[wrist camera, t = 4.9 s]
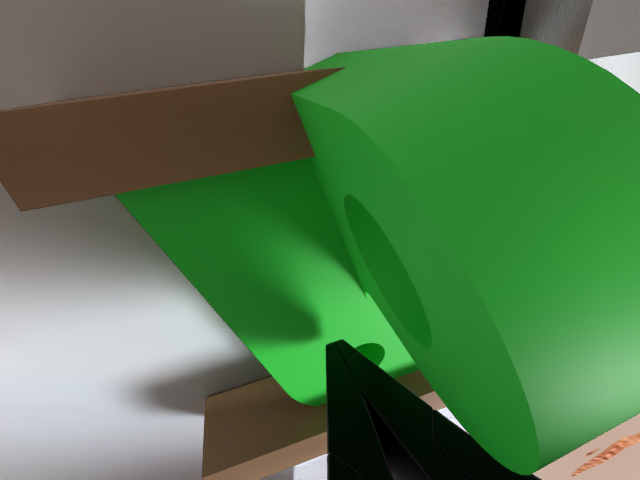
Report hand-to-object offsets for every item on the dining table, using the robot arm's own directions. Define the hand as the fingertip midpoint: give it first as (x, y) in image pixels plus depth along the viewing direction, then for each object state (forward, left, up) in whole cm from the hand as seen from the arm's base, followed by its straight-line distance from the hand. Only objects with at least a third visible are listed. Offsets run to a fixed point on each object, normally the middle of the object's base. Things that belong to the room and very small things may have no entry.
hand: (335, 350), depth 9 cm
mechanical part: (+1, 0, -3) cm, 3 cm away
